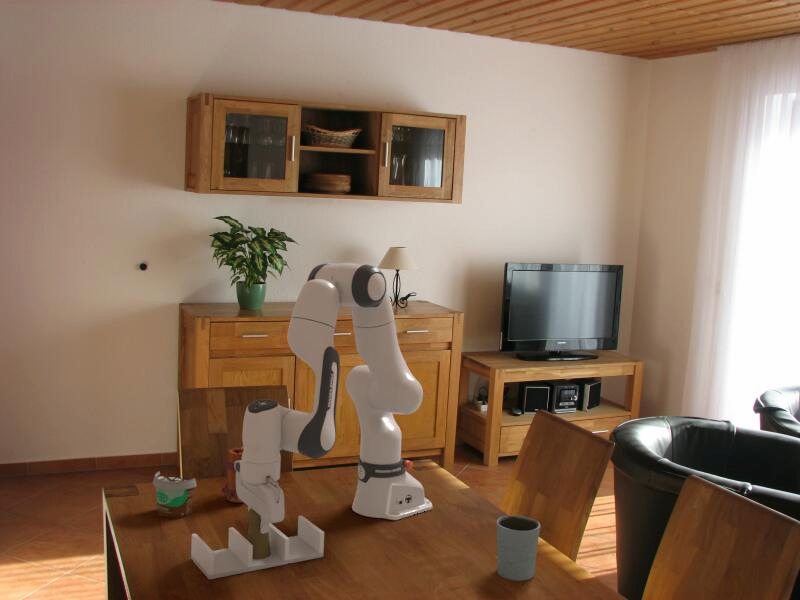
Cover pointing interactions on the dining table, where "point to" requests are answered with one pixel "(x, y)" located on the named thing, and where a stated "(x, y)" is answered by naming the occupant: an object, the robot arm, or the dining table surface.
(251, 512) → the cork
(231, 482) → the mug
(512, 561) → the grey cup
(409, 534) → the dining table surface
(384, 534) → the dining table surface
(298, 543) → the slot rack
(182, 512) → the food container
